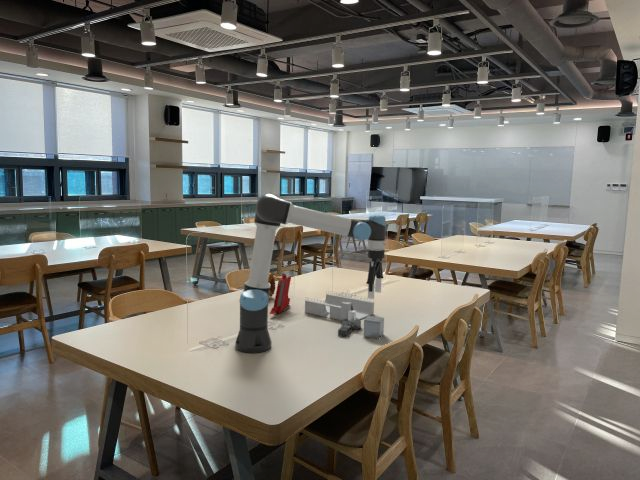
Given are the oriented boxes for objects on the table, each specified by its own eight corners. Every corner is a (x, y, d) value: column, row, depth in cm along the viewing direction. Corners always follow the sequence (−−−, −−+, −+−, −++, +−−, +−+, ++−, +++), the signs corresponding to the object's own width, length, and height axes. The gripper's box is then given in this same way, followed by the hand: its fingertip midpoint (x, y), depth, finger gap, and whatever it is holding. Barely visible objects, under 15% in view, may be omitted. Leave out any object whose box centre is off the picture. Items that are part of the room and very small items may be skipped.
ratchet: (351, 337, 216) (351, 320, 215) (332, 334, 219) (333, 317, 218) (362, 325, 234) (363, 310, 233) (345, 323, 237) (346, 307, 236)
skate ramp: (373, 314, 256) (374, 294, 255) (347, 325, 234) (348, 304, 233) (327, 304, 273) (328, 286, 272) (299, 314, 251) (299, 294, 250)
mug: (247, 299, 281) (247, 274, 279) (269, 295, 292) (270, 271, 290) (257, 302, 273) (257, 277, 271) (280, 299, 284) (280, 274, 282)
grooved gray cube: (379, 339, 214) (380, 321, 213) (363, 336, 217) (364, 319, 216) (383, 334, 221) (384, 317, 221) (367, 332, 224) (368, 315, 223)
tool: (278, 314, 242) (286, 267, 250) (268, 313, 243) (276, 266, 251) (289, 322, 265) (296, 279, 272) (279, 321, 266) (287, 278, 274)
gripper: (378, 253, 202) (376, 302, 204) (390, 246, 225) (388, 290, 228) (361, 252, 205) (359, 300, 207) (374, 245, 228) (373, 289, 230)
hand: (374, 295), depth 217 cm, fingers open, 13 cm apart
